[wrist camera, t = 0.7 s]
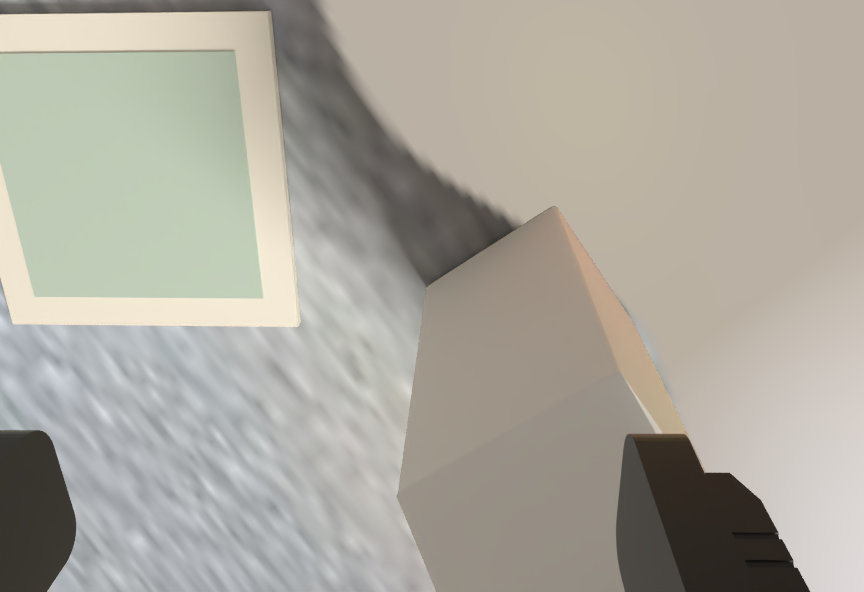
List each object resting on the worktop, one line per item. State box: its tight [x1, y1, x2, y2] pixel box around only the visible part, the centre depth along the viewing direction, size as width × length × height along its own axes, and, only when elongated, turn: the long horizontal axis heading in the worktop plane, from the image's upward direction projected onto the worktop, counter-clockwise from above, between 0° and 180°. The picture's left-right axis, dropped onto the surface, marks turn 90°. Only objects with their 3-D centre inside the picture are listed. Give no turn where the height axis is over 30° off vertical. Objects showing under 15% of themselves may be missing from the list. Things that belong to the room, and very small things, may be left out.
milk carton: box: [397, 206, 706, 592], centre depth 25 cm, size 7×7×19 cm
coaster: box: [0, 11, 301, 327], centre depth 32 cm, size 14×14×1 cm
